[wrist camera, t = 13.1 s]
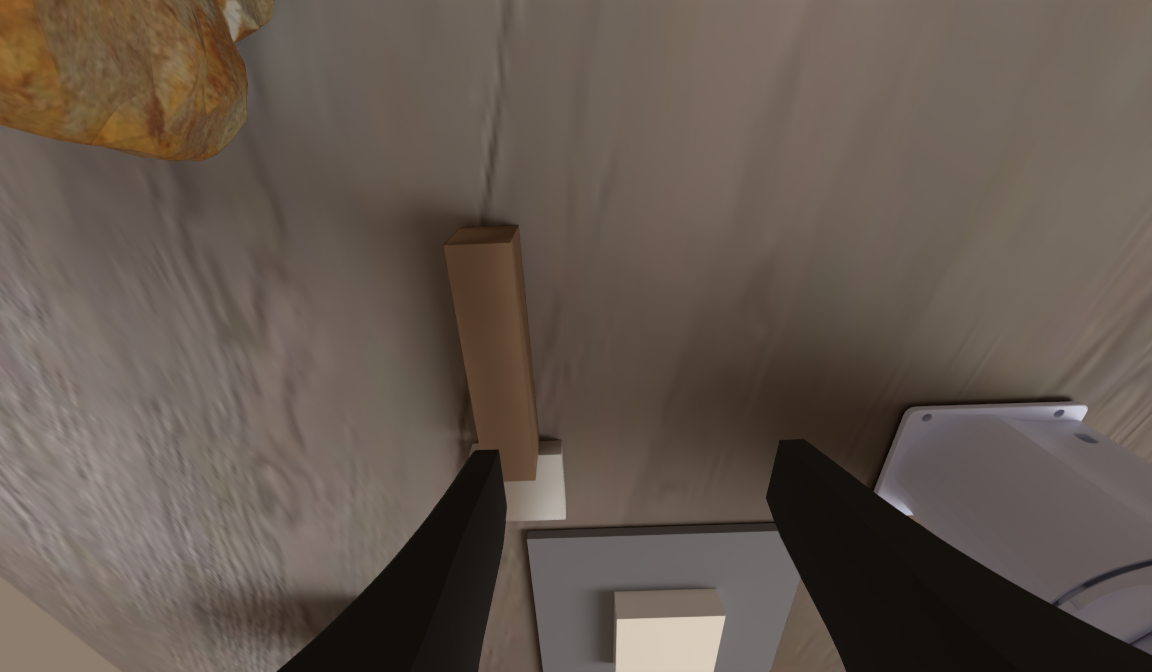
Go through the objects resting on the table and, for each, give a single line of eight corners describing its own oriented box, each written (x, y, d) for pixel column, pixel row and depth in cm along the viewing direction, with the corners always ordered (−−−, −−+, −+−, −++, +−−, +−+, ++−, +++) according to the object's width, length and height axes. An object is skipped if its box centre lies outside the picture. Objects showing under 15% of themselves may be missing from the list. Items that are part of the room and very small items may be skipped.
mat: (811, 521, 27) (816, 529, 27) (765, 666, 35) (768, 674, 34) (527, 530, 27) (526, 539, 27) (544, 673, 35) (544, 682, 34)
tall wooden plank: (547, 223, 19) (543, 241, 16) (565, 503, 26) (565, 546, 24) (432, 228, 19) (409, 246, 16) (484, 505, 26) (475, 549, 24)
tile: (725, 615, 28) (710, 688, 32) (717, 588, 29) (703, 660, 33) (616, 619, 28) (615, 690, 32) (614, 591, 29) (613, 663, 33)
